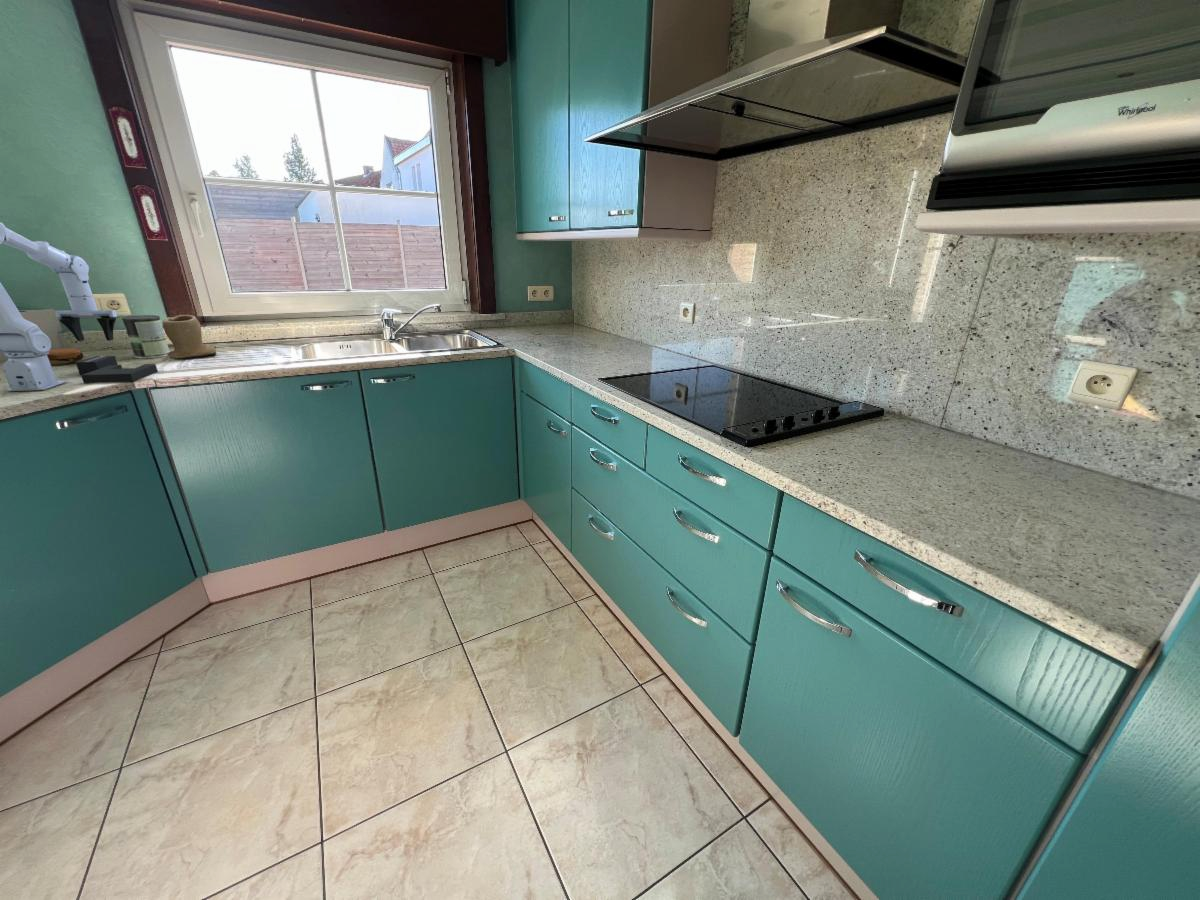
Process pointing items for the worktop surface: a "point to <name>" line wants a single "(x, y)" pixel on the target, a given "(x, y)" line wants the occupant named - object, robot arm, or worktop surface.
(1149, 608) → the worktop surface
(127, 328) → the coffee can
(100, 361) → the pad
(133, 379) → the notch pad
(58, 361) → the burger
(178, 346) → the tan suede boot
